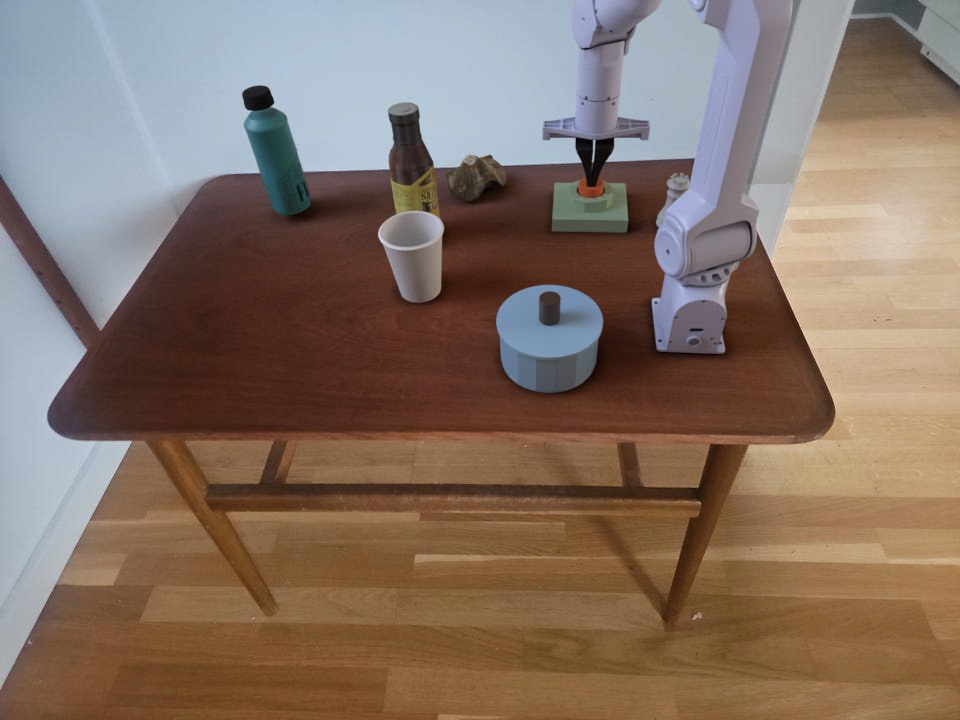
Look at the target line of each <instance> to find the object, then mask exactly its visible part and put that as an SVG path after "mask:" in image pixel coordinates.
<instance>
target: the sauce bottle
mask: <svg viewBox="0 0 960 720" xmlns="http://www.w3.org/2000/svg"><path fill="white" fill-rule="evenodd" d="M387 116H388V120H389V123H390V125H391V131H392V141H393V144H392V147H391V149H390V151H389V154H388V167H389V173H390V174H389V177H390V184H391V189H392V191H391V192H392V195H393V202H394V209H395V215H396V214H399V213H403V212H408V211H423V212H428V213H431V214H433V215H435V216H437V217H438V218H439V219H440V220H441V215H440V207H439V197H438V190H437V189H438V188H437V181H436V172H435V163H434V160H433V158H432V156H431V154H430V152H429V150H428V148H427V146H426V143H425V141H424V140H423V135H422V133H421V123H420V119H421V114H420V107H419V106H418V104H416V103H413V102H408V101H405V102H398V103H396V104H392V105H391V106H390V107H389V108H388V110H387Z"/></svg>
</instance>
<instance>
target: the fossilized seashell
mask: <svg viewBox="0 0 960 720" xmlns="http://www.w3.org/2000/svg"><path fill="white" fill-rule="evenodd" d="M445 177H446V179H447V185H448V186H447V187H448V189H449V192H450V193H451V195H452V196H454V197H455V198H456V199H458V200H460V201H461V202H473V201H475V200H477V199H478V198H480V197H481V196H482V194H483V193H484V192H485V190H486V189H487V190H488V189H492V190H496V189H497V190H498V189H501V188H503V187H505V185H506V183H507V181H508V177H507V172H506V169H505V167H504V166H503V165H502V164H501V163H500V162H499V161H497V160H496V159H494V157H493V155H492V154H488V155H485V156H480V157H479V156H476V155H475V154H468V155H465V157H464V158H463V159H462V161H461V163H460V165H459V166H458V167H456V168H454V169H452V170H450V171H447V172H446V173H445Z"/></svg>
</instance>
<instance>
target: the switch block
mask: <svg viewBox="0 0 960 720" xmlns="http://www.w3.org/2000/svg"><path fill="white" fill-rule="evenodd" d="M580 180H581V179H579V180H576V181H574V182H554V185H553V199H552V201H553V202H552V215H551V216H552V218H551V232H565V233H566V232H569V233H570V232H571V233H572V232H575V233H621V234H622V233H625V234H626V233H627V232H628V226H629V212H628V209H629V208H628V197H627V186H626V185H627V184H626V183H625V182H607V181H605V180H602V181H603V183H604V184H603V194H602V196H599V197H596V198H585V197H582V196H580V195H579V194H578V191H579V181H580Z"/></svg>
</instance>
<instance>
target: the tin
mask: <svg viewBox="0 0 960 720" xmlns="http://www.w3.org/2000/svg"><path fill="white" fill-rule="evenodd" d="M598 346H599V339H598V340H597V341H596V343H595V344H594V345H593V346H592V347H590V348H589V349H588V350H586V351H585V352H583V353H581V354H579V355H577V356H574V357H571V358H567V359H562V360H539V359H533V358H530V357H526V356H524V355H521V354H519V353H517V352H515V351H514V350H512V349H511V348H510V347H508V346H507V345H506V344H505V343H504V341H503V340H502V339H501V337H500V336H499V348H500V361H501V364H502V368H503V370H504V372H505V373H506V375H507V376H508V377H509V378H510V379H511V380H512V381H513V382H514V383H515V384H517V385H519V386H521V387H522V388H524V389H527V390H530V391H532V392H537V393H545V394H547V393H549V394H554V393H561V392H566V391H569V390H572V389H575V388H577V387H578V386H580V385H581V384H583V383H584V382H585V381H587V379H588V378H589V377H590V376H591V375H592V373H593V371H594V369H595V366H596V364H597V356H598V348H599V347H598Z"/></svg>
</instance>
